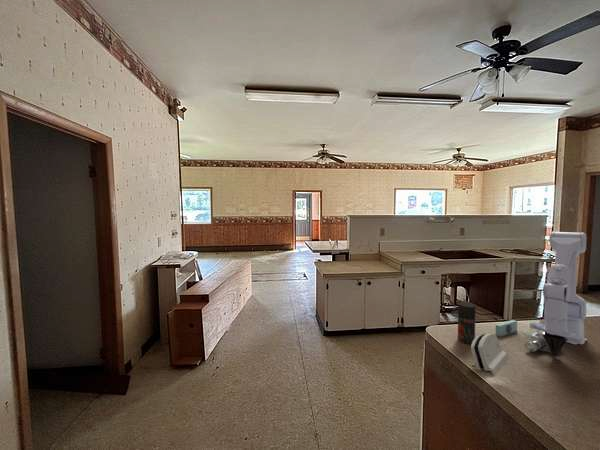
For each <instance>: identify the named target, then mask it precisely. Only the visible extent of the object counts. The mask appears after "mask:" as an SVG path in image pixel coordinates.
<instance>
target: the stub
mask: <svg viewBox="0 0 600 450" xmlns="http://www.w3.org/2000/svg"><path fill="white" fill-rule="evenodd" d="M537 332H538V334H539V337H541V338H544V337H543V334H545V332H544V331H541V330H538V331H537ZM544 339H545V338H544ZM538 350H540V351H542V352H547V353H551V352H550V351H549V350H547V349H544V348H541V349H538Z"/></svg>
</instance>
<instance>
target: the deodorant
mask: <svg viewBox="0 0 600 450" xmlns="http://www.w3.org/2000/svg"><path fill="white" fill-rule="evenodd" d="M475 337H476V305H475V304H474V303H471V302H468V301H467V302H465V301H460V302H458V303H457V341H458V342H459V343H461V344H464V345H468V346H469V345H471V344H472V342H473V340H474V339H475Z"/></svg>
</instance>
